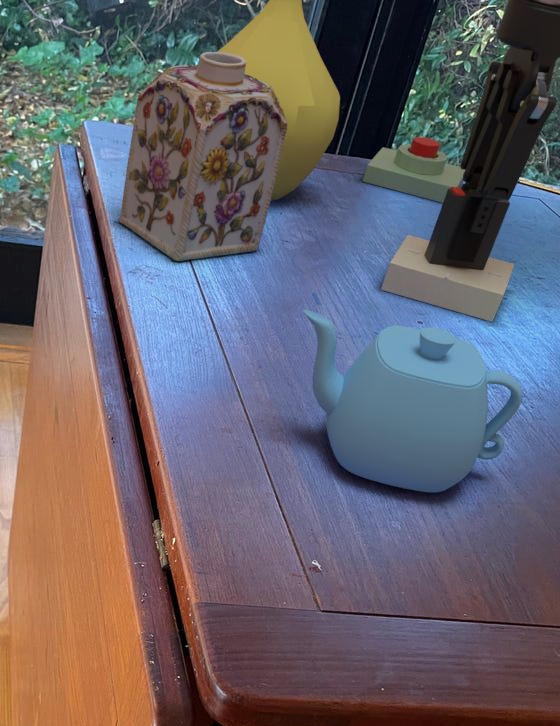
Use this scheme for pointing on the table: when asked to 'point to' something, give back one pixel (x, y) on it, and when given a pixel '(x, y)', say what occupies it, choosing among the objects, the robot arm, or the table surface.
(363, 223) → the table surface
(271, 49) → the vase
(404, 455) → the teapot
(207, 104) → the decorative jar
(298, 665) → the table surface
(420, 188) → the block
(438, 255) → the dark grey block
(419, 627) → the table surface
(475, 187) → the robot arm
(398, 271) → the beige flat block
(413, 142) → the power button
